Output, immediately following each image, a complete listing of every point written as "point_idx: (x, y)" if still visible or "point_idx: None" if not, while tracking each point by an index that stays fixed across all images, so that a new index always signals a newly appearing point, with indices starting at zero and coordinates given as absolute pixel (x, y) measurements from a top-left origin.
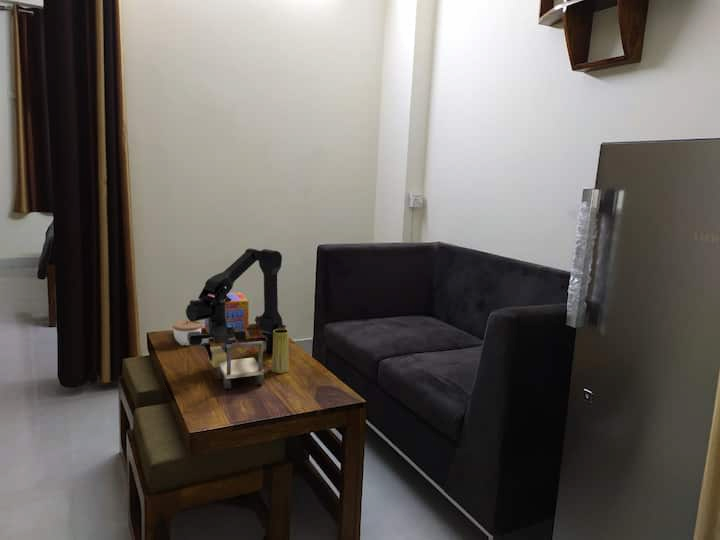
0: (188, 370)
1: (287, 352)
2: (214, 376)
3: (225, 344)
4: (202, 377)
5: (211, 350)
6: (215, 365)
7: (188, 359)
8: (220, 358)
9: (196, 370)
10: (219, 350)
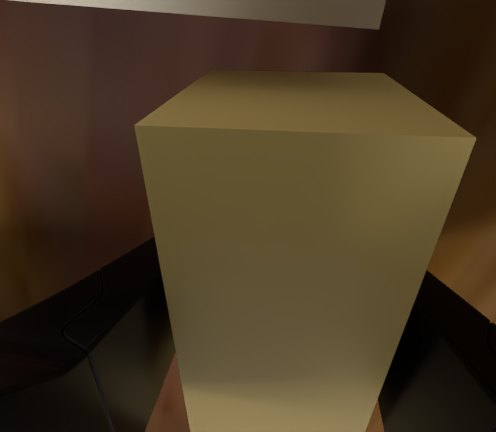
0: (487, 281)
1: None
2: (366, 46)
3: (63, 417)
4: (492, 73)
5: (375, 375)
6: (374, 78)
7: (377, 411)
8: (294, 99)
9: (434, 257)
10: (243, 327)
